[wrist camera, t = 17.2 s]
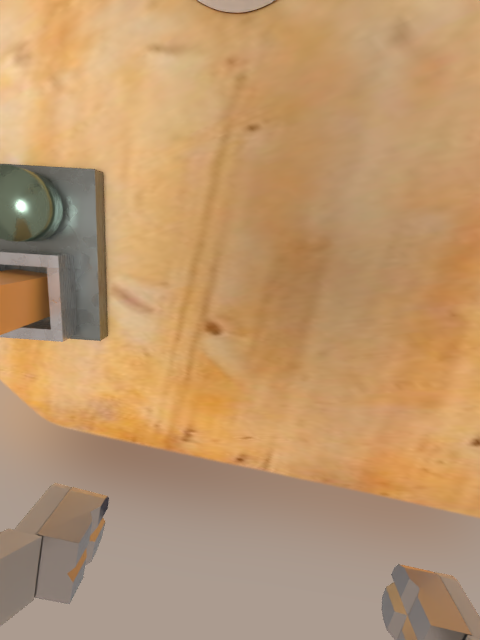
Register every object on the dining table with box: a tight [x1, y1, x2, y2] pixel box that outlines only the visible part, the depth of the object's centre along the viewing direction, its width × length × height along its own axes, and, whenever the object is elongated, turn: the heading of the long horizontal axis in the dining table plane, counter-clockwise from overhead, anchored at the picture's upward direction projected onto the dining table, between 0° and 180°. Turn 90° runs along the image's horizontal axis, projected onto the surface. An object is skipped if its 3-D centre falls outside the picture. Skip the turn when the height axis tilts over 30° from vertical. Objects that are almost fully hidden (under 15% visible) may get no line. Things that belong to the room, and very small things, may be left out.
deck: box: [0, 164, 108, 342], centre depth 37 cm, size 18×14×5 cm
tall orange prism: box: [0, 269, 50, 335], centre depth 34 cm, size 4×4×10 cm
